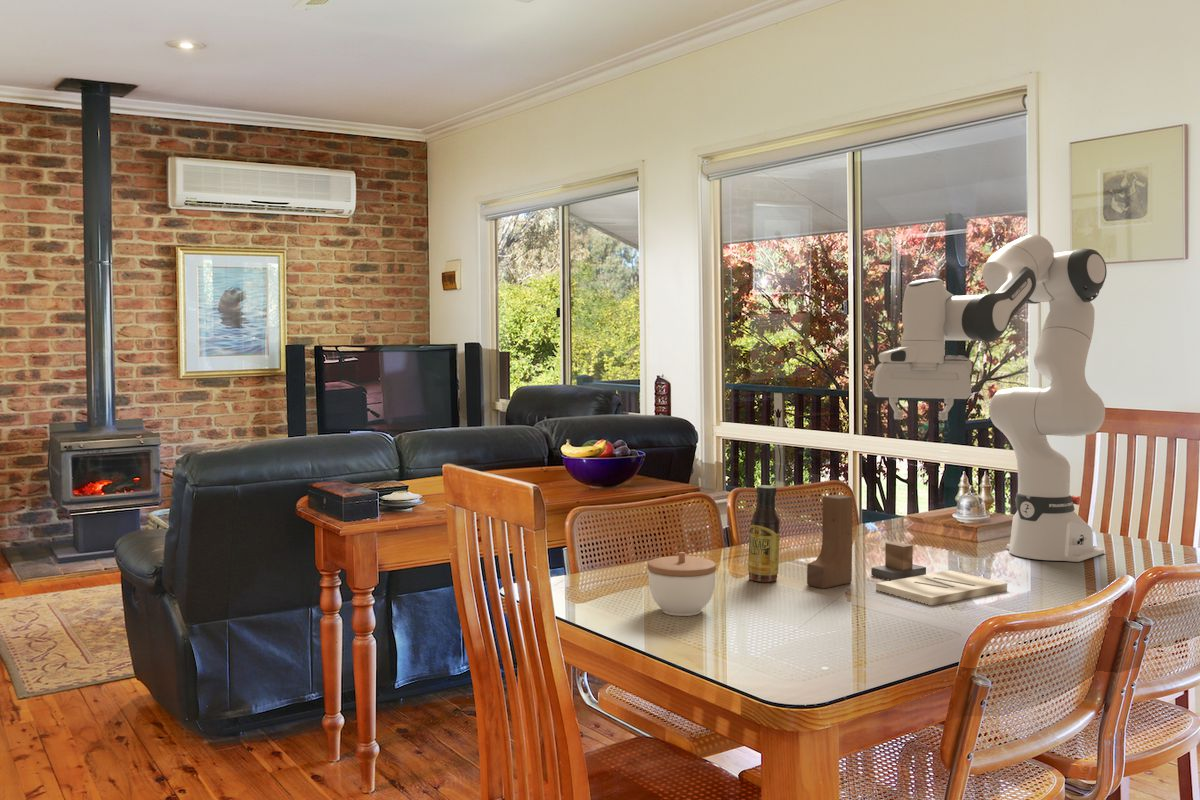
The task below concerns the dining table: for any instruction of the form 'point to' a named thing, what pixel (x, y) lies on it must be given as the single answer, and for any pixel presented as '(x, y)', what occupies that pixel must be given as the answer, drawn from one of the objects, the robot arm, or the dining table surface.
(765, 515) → the sauce bottle
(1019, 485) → the robot arm
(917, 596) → the birch board
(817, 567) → the wooden block
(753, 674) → the dining table surface
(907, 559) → the block
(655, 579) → the lidded bowl
